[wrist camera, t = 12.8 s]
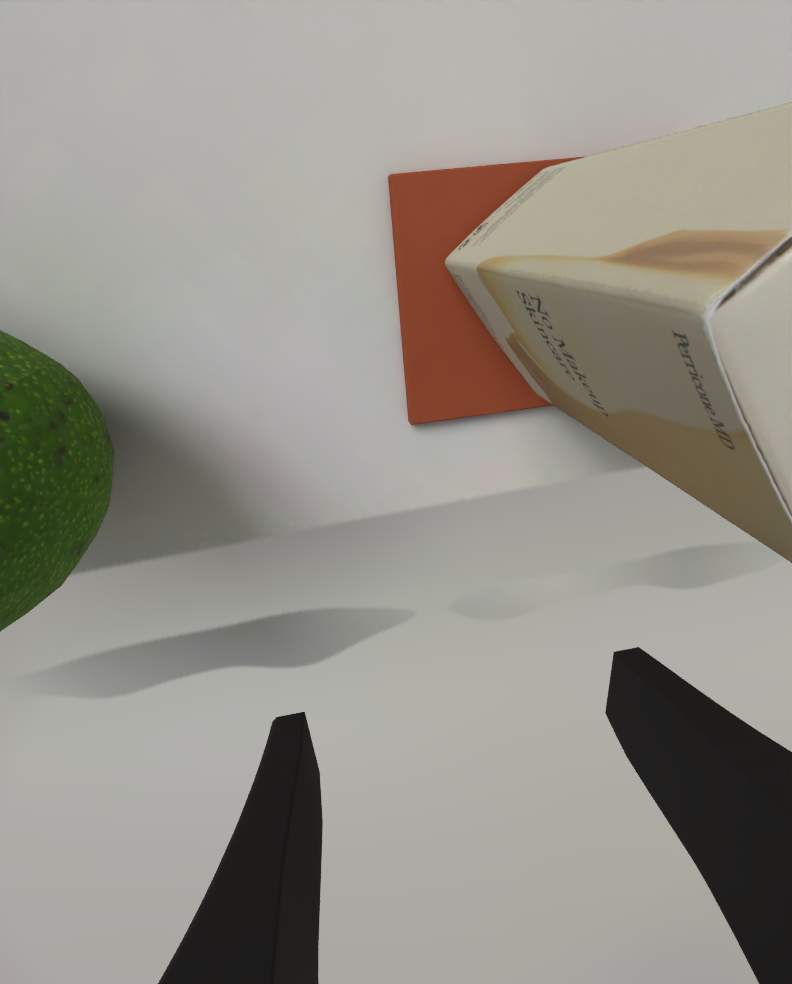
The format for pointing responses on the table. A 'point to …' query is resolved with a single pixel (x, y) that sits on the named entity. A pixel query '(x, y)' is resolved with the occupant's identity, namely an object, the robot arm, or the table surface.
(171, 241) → the table surface
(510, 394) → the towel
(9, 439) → the fruit
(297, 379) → the table surface
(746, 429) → the cosmetic box
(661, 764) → the robot arm
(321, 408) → the table surface
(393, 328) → the table surface
